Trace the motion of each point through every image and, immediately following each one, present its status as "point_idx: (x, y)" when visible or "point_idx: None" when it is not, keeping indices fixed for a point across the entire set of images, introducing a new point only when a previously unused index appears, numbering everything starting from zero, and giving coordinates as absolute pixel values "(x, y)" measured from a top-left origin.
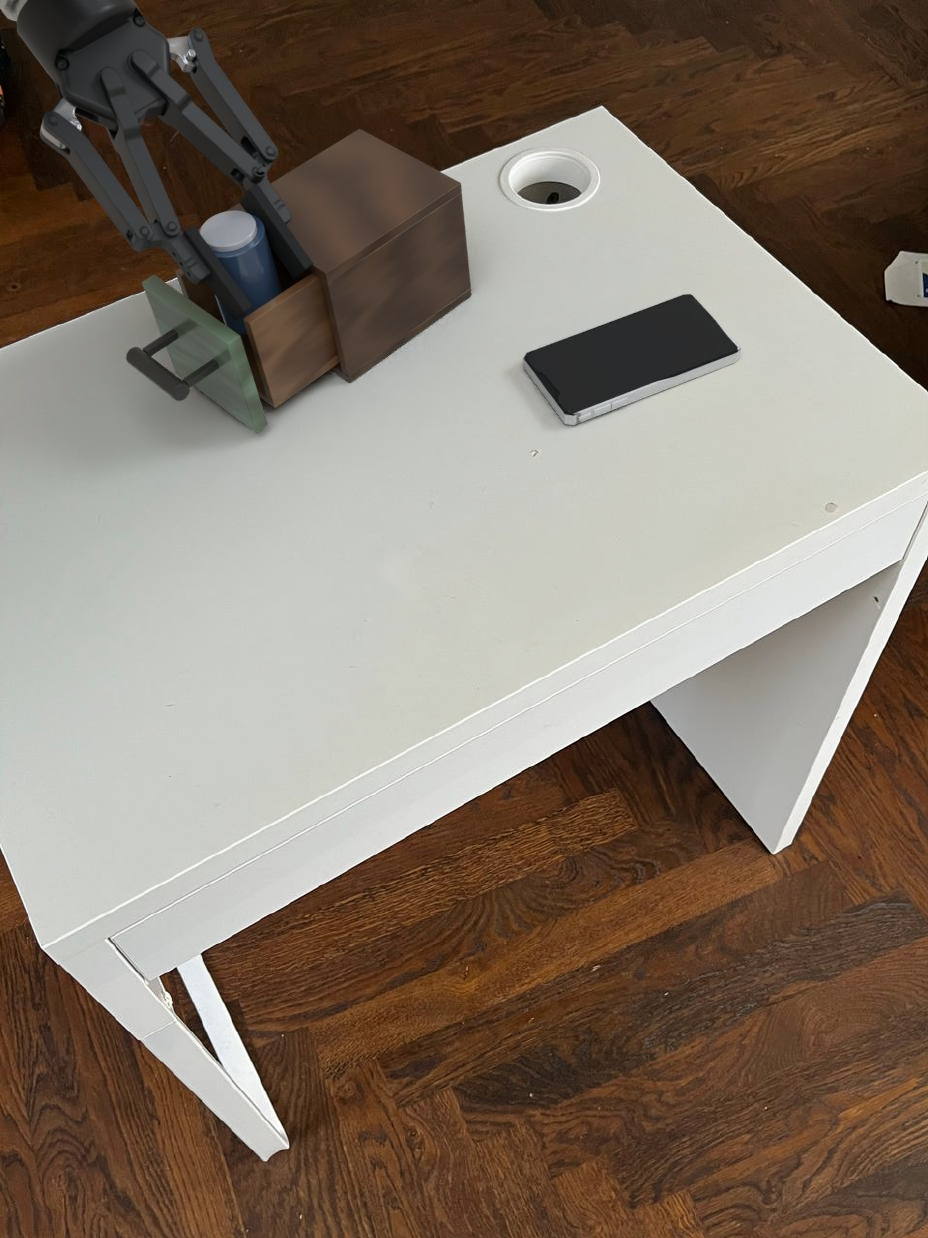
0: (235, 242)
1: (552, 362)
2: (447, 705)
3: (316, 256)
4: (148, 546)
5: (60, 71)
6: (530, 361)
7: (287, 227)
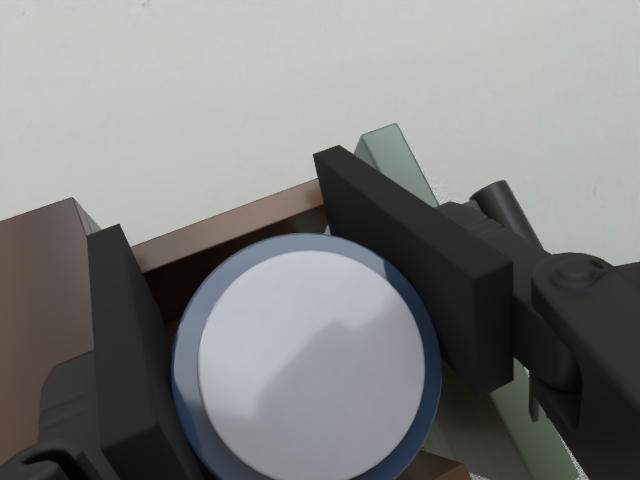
0: (309, 255)
1: None
2: None
3: (62, 286)
4: (532, 113)
5: None
6: None
7: (93, 300)
